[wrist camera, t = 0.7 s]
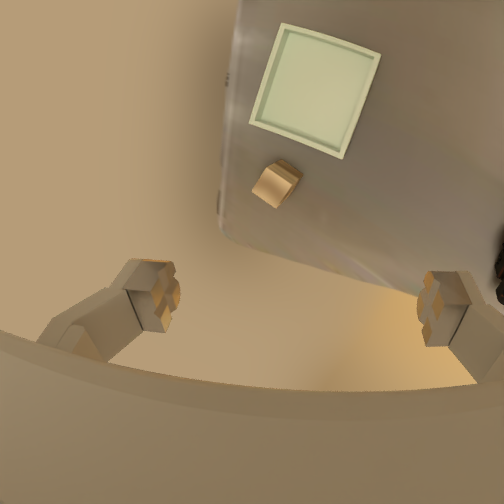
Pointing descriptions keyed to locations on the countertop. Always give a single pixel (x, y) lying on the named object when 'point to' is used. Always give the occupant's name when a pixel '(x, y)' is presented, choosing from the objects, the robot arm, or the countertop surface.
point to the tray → (314, 89)
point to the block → (277, 183)
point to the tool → (500, 277)
